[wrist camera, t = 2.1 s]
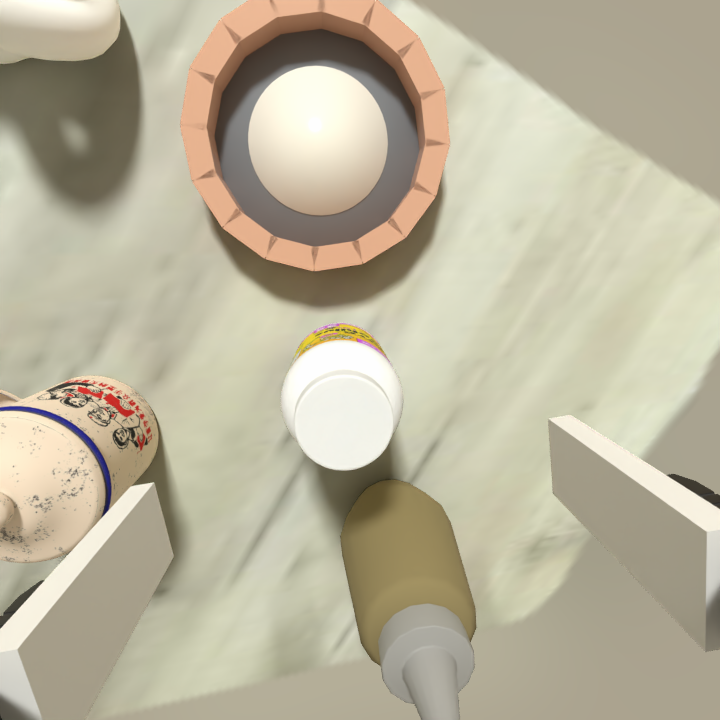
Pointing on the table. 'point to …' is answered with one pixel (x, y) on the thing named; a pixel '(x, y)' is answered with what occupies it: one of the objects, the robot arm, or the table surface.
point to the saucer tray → (315, 129)
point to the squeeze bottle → (410, 595)
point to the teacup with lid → (68, 462)
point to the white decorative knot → (57, 29)
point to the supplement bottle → (341, 397)
